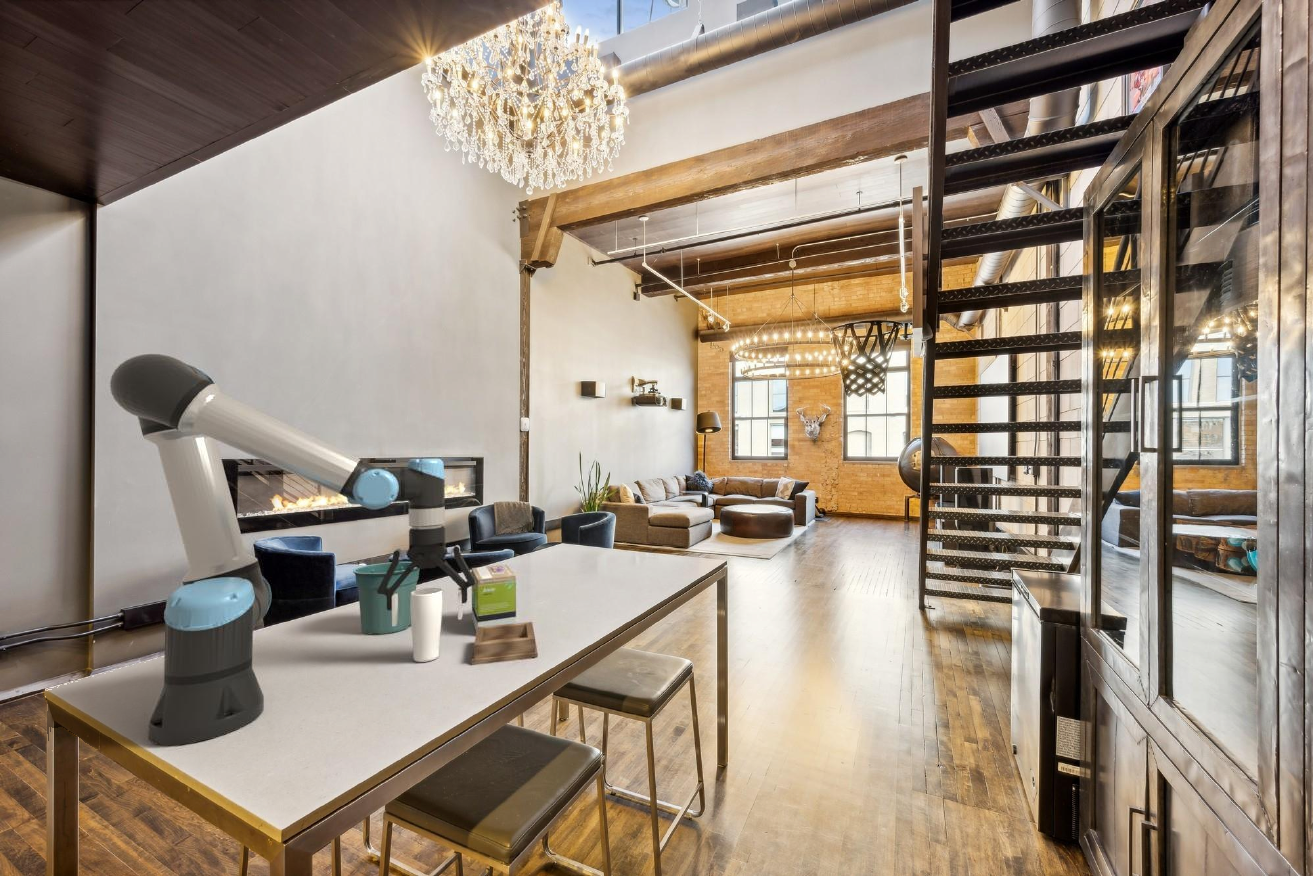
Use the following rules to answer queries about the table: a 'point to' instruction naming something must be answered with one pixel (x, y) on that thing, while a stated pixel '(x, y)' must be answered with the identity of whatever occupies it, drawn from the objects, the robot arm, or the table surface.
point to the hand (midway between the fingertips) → (428, 621)
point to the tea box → (493, 596)
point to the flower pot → (384, 597)
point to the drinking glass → (426, 623)
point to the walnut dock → (504, 643)
